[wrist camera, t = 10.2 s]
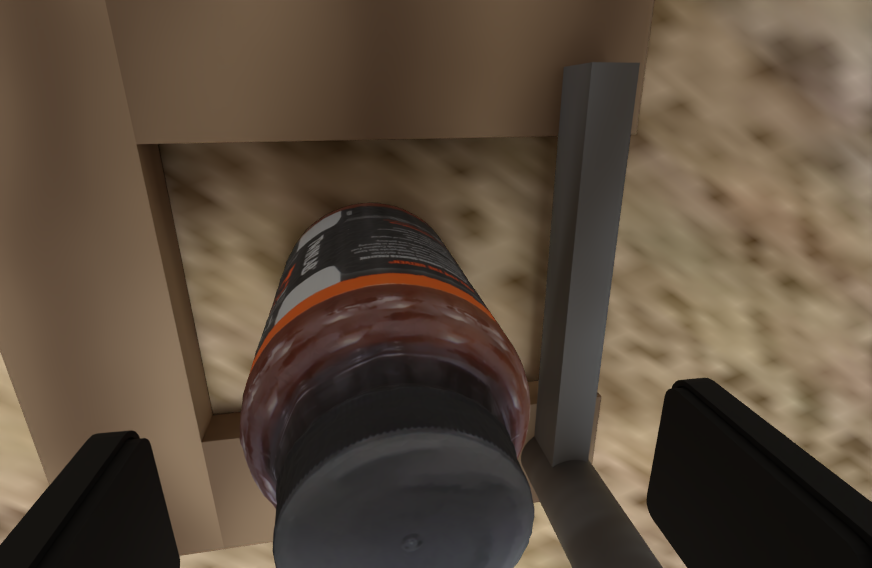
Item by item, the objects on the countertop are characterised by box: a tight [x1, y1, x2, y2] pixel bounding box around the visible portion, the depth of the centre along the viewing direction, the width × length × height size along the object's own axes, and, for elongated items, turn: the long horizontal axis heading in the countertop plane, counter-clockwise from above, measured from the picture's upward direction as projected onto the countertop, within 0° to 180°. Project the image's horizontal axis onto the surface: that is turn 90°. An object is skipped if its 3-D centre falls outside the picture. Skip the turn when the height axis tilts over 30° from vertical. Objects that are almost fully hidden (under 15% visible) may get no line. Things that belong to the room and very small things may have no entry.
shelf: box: [0, 0, 663, 568], centre depth 12 cm, size 22×20×12 cm
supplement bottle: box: [239, 203, 534, 568], centre depth 12 cm, size 6×6×11 cm
